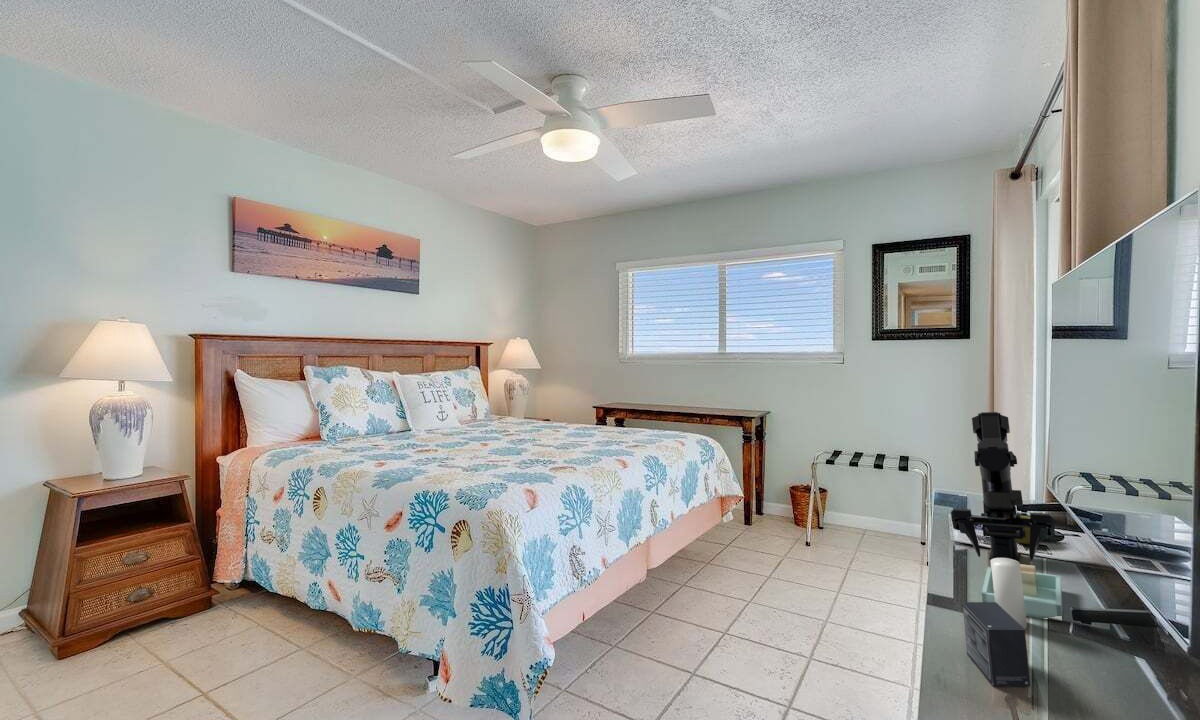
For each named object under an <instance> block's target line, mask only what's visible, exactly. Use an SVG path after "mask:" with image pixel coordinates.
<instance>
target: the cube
mask: <svg viewBox="0 0 1200 720" xmlns="http://www.w3.org/2000/svg"><path fill="white" fill-rule="evenodd" d="M1020 568H1021V577H1022V586H1023V594H1025V595H1032V596H1037V580H1036V573H1037V571H1036V565H1031V564H1030V565H1028V564H1022V563H1020Z"/></svg>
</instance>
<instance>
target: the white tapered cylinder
mask: <svg viewBox="0 0 1200 720" xmlns="http://www.w3.org/2000/svg"><path fill="white" fill-rule="evenodd" d="M1020 564H1021V562H1020V563H1019V562H1018V561H1016V560H1013V559H1009V558H994V559H991V560H990V567H991V569H992V578H993V587H994V596H995V602H996V603H997V604H998V605H999V606H1001V607H1002V608H1003V609H1004V610H1005V611H1006V612H1007V613H1008V614H1009V615H1010V616H1011V617H1012V618H1013V619H1014V620H1016V621H1017V622H1018V623H1019V624H1020V625H1021V626H1022V627H1023V628H1024V629H1025V630H1026V628H1027V616H1026V614H1025V605H1024V596H1023V586H1022V577H1021V568H1020Z"/></svg>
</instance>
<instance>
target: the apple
mask: <svg viewBox="0 0 1200 720" xmlns="http://www.w3.org/2000/svg"><path fill="white" fill-rule="evenodd" d="M1020 518H1027V519H1030V516H1027V515H1020ZM1018 531H1019V530H1018ZM1025 535H1026V537H1024V538H1023V539H1017V538H1016V540H1017V544H1018V543H1019V544H1024V545H1030V528H1026V527H1025Z"/></svg>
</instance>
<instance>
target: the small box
mask: <svg viewBox="0 0 1200 720" xmlns="http://www.w3.org/2000/svg"><path fill="white" fill-rule="evenodd" d="M961 606H962V612H963V621H964V633H965V643H966V655H967V656H968V657H969V659H970V660H971V661H972V663H973V664H974V665H975V666H976V667H977V669H978V670H979V671H980V673H981V674H982V675H983V676H984V678H985V679H986V681H988V682H989V684H990V685H991V686H992V687H1015V686H1017V687H1022V688H1025V687H1024V686H1030V687H1031V679H1030V669H1029V660H1028V659H1029V658H1028V649H1027V638H1026V637H1027V636H1026V628H1025V629H1024V628H1023V627H1022V626H1021V625H1020V624H1019V623H1018V622H1017V621H1016V620H1014V619H1013V618H1012V617H1011V616H1010V615H1009V614H1008V613H1007V612H1006V611H1005V610H1004V609H1003V608H1002V607H1001V606H999V605H998V604H997V603H996V602H983V601H980V602H978V601H962V602H961Z"/></svg>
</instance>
